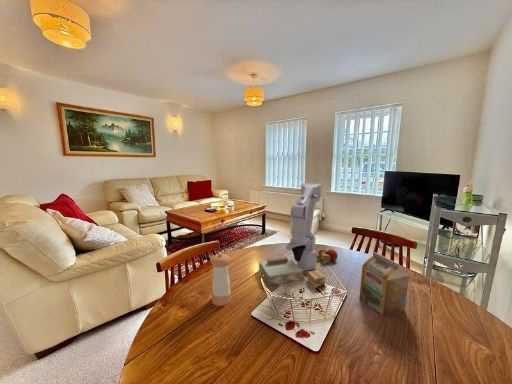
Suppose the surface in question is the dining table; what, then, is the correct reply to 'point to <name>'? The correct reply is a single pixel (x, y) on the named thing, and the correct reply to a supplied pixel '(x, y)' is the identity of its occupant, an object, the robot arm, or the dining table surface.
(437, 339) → the dining table surface
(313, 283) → the tan block
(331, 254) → the kendama
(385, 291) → the milk carton
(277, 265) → the lid
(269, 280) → the toolbox
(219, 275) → the salt shaker
